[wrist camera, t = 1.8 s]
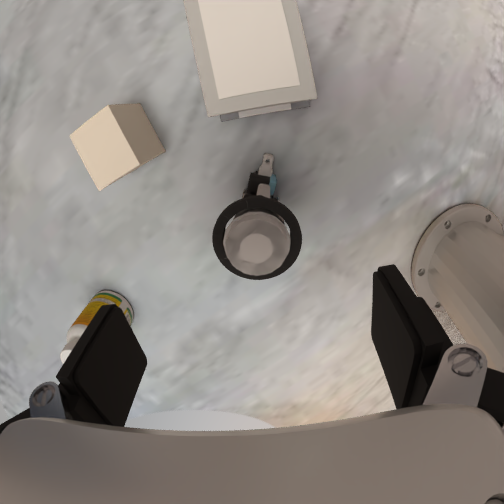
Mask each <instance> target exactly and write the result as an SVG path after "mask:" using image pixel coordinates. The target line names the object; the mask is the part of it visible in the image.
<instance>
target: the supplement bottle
mask: <svg viewBox="0 0 504 504" xmlns="http://www.w3.org/2000/svg"><path fill="white" fill-rule="evenodd" d="M109 304H116V305H117V306H118V307H120V308H121V309H122V310H123V313H124V315H125V317H126V319H127V321H128V323H129V325H131V323H132V321H133V310H132V308H131V306H130V304H129V303H128V301H127V300H126V299H125V298H124V297H122V296H121V295H119V294H117V293H115V292H112V291H101V292H99V293H97V294H96V295H95V296H94V297H93V298H92V300H91V301H90V302H89V303H88V305H87V306H86V307H85V309H84V310H83V311H82V313H81V314H80V315H79V317H78V318H77V319H76V321H75V322H74V323H73V325H72V326H71V327H70V329H69V331H68V333H67V344H66V345H65V347H64V349H63V350H62V352H61V355H60V357H61V361H62V363H63V364H64V362H65V361H66V359H67V357H68V356H69V354H70V353H71V351H72V349H73V348H74V346H75V345H76V343H77V341H78V340H79V338H80V337H81V335H82V334H83V332H84V331H85V329H86V328H87V326H88V325H89V323H90V322H91V320H92V319H93V317H94V316H95V314H96V313H97V311H98V310H99V308H100V307H101V306H102V305H109Z"/></svg>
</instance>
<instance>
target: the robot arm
mask: <svg viewBox="0 0 504 504" xmlns="http://www.w3.org/2000/svg"><path fill="white" fill-rule="evenodd" d="M411 274H412V283H413V286H414V290H415V291H416V293H417V295H418V297H416V295H415V294H414V292H413V291H412V289H411V288H410V286H409V285H408V283H407V282H406V280H405V279H404V277H403V276H402V274H401V273H400V271H399V270H398V269H397V267H396V266H395V265H394V264H393V265H387V266H382V267H379V268H378V271H377V272H374V273H373V303H372V326H371V335H372V340H373V343H374V345H375V348H376V351H377V353H378V356H379V359H380V362H381V365H382V367H383V370H384V373H385V376H386V379H387V382H388V385H389V388H390V390H391V393H392V396H393V399H394V403H395V406H396V410H391V411H386V412H380V413H375V414H370V415H365V416H360V417H354V418H348V419H342V420H336V421H329V422H323V423H316V424H308V425H300V426H291V427H281V428H270V429H255V430H235V431H173V430H154V429H140V428H129V427H124V425H125V422H126V420H127V417H128V414H129V411H130V409H131V406H132V403H133V400H134V398H135V395H136V392H137V390H138V387H139V384H140V382H141V379H142V376H143V374H144V371H145V368H146V366H147V358H146V356H145V354H144V352H143V350H142V348H141V346H140V344H139V343H138V341H137V339H136V337H135V335H134V333H133V331H132V329H131V327H130V325H129V323H128V321H127V319H126V317H125V315H124V313H123V310H122V309H121V308H120V307H118V306H117V305H116V304H109V305H102V306H101V307H100V308H99V310H98V311H97V313H96V314H95V316H94V317H93V319H92V320H91V322H90V323H89V325H88V326H87V328H86V329H85V331H84V332H83V334H82V335H81V337H80V338H79V340H78V341H77V343H76V345H75V346H74V348H73V349H72V351H71V353H70V354H69V356H68V357H67V359H66V361H65V362H64V364H63V366H62V367H61V369H60V371H59V372H58V374H57V376H56V378H57V379H58V380H59V382H60V384H59V386H58V385H57V384H56V383H55V382H51V381H50V382H45V383H42V384H41V385H39V386H38V387H36V388H35V389H34V391H33V392H32V394H31V396H30V398H29V406H30V408H28V409H27V410H25V411H23V412H22V413H20V414H18V415H16V416H15V417H13V418H11V419H9V420H8V421H6V422H4V423H2V424H1V425H0V504H504V232H503V228H502V225H501V223H500V221H499V220H498V218H497V217H496V216H495V215H494V214H493V213H492V212H491V211H489V210H488V209H486V208H485V207H483V206H480V205H477V204H462V205H459V206H456V207H453V208H451V209H449V210H448V211H446V212H444V213H443V214H442V215H441V216H439V217H438V218H437V219H436V220H435V221H434V222H433V223H432V224H431V225H430V227H429V228H428V229H427V230H426V232H425V233H424V235H423V236H422V238H421V240H420V242H419V244H418V246H417V248H416V251H415V254H414V258H413V262H412V270H411ZM430 308H431V309H433V310H436V311H443V312H445V311H446V312H447V314H448V315H449V316H450V318H451V319H452V321H453V322H454V324H455V325H456V327H457V328H458V330H459V331H460V333H461V335H462V336H463V338H464V339H465V341H466V342H467V344H464V343H463V344H456V345H454V346H453V344H452V342H451V341H450V339H449V337H448V336H447V334H446V332H445V331H444V329H443V328H442V326H441V324H440V323H439V321H438V320H437V318H436V317H435V315H434V313H433V312H432V310H431V309H430Z"/></svg>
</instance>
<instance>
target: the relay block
mask: <svg viewBox="0 0 504 504" xmlns="http://www.w3.org/2000/svg"><path fill="white" fill-rule="evenodd" d="M70 138H71V140H72V142H73V144H74V146H75V148H76V150H77V152H78V153H79V155H80V157H81V159H82V161H83V163H84V165H85V167H86V168H87V170H88V172H89V174H90V176H91V177H92V179H93V181H94V183H95V185H96V186H97V188H98V190H99V191H100V190H102V189H104V188H105V187H107V186H109V185H110V184H112V183H114V182H115V181H117V180H119V179H120V178H122V177H124V176H126V175H127V174H129V173H131V172H132V171H134V170H136V169H137V168H139V167H140V166H142V165H144V164H145V163H147V162H149V161H150V160H152V159H154V158H155V157H157V156H159V155H160V154H162V153H164V152H165V149H164V147H163V145H162V144H161V142H160V140H159V138H158V136H157V134H156V132H155V131H154V129H153V127H152V125H151V123H150V121H149V119H148V118H147V116H146V114H145V112H144V110H143V108H142V106H141V104H140V103H137V104H116V105H107V106H106V107H105V108H103V109H102V110H101V111H99V112H98V113H97V114H96V115H94V116H93V117H92V118H90V119H89V120H88V121H87V122H85V123H84V124H83V125H82V126H80V127H79V128H78V129H77V130H76V131H74V132H73V133H72V134H71V135H70Z"/></svg>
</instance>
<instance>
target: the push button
mask: <svg viewBox="0 0 504 504" xmlns="http://www.w3.org/2000/svg"><path fill="white" fill-rule="evenodd" d="M267 159H269V160H270V162H266V161H265V160H267ZM273 159H274V157H273V155H271V154H266V153H265V154H264V156H263V161H262V166H261V165H260V166H259V171H256V173H251V174H250V178H249V183H248V188H247V193H246V194H244V193H245V189H244V192H243V197H242V199H240V200H238V201H236V202H234V203H232V204H231V205H229V206H228V207H227V208H226V209H225V210H224V211H223V212H222V213H221V214H220V216H219V217H218V219H217V221H216V224H215V226H214V230H213V247H214V250H215V253H216V255H217V257H218V259H219V260H220V262H221V263H222V264H223V265H224V266H225V267H226V268H227V269H228V270H229V271H231V272H232V273H234V274H236V275H238V276H240V277H243V278H247V279H253V280H262V279H269V278H272V277H275V276H278V275H280V274H281V273H283V272H285V271H286V270H287V269H288V268H289V267H291V266H292V264H293V263H294V262H295V260H296V259H297V257H298V255H299V252H300V249H301V244H302V234H301V229H300V226H299V223H298V221H297V219H296V217H295V216H294V214H293V213H292V212H291V211H290V210H289V209H288V208H287V207H286V206H285V205H283V204H282V203H280V202H279V196H278V198H277V199H276V198H273V195H274V190H275V188H276V183H277V180H276V175H273V174H272V172H273V170H272V169H273V168H272V163H273ZM235 214H236V215H235ZM234 215H235V217H234V219H233V221H232V222H231V224H230V225H229V226H228V227H227V229H226V231H225V227H226V224H227V222H228V221H229V220H230V219H231V218H232V217H233V216H234ZM283 219H284V220H285V222H286V223H287V225H288V226H289V228H290V236H289V233H288V231H287V228H286V226H285V224H284V220H283Z"/></svg>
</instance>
